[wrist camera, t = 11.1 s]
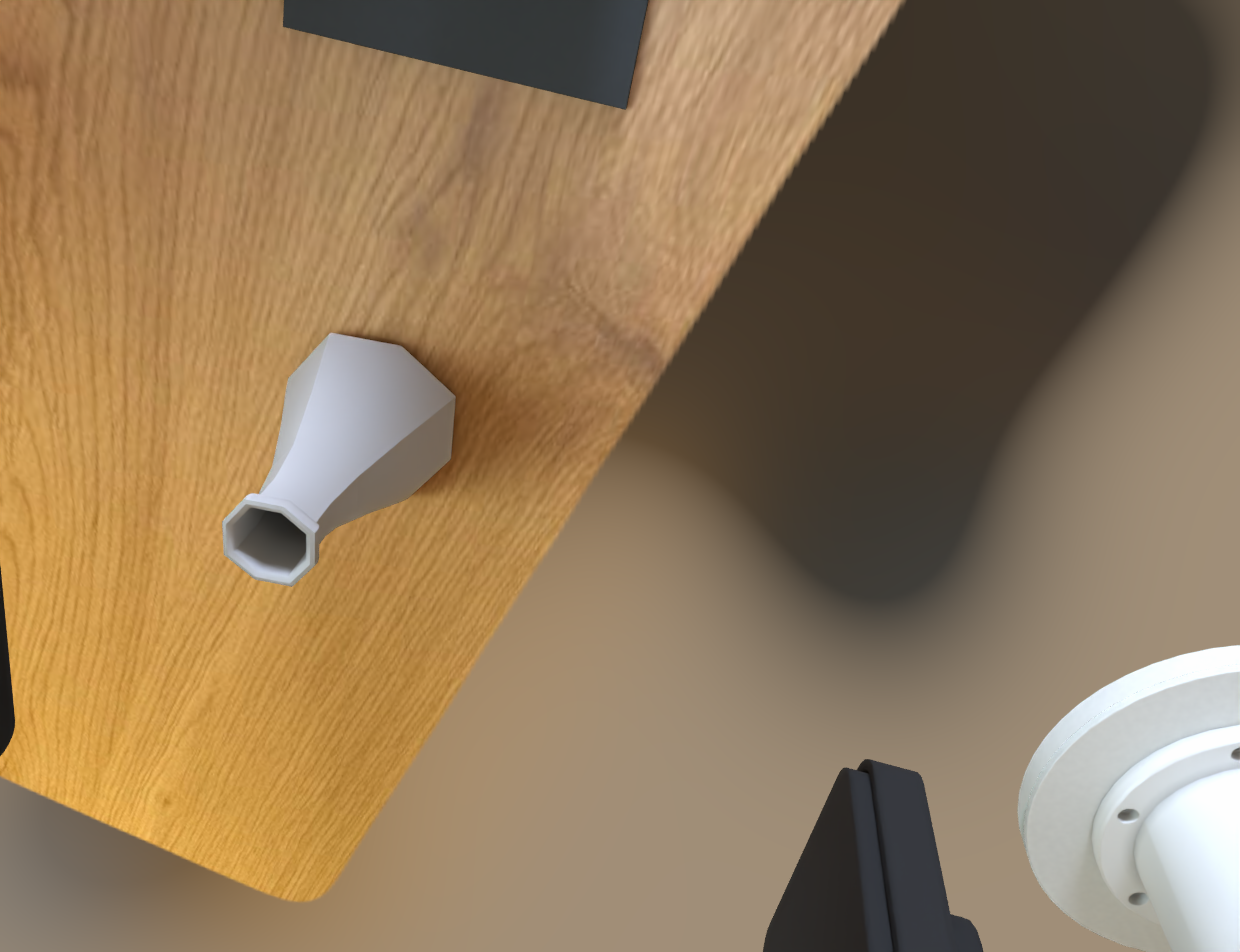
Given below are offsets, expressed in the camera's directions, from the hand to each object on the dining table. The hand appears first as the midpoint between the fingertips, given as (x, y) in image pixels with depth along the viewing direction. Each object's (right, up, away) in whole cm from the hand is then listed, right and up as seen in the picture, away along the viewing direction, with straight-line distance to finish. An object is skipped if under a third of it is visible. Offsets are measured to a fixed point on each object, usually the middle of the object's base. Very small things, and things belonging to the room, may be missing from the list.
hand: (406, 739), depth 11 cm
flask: (-8, +5, +29) cm, 31 cm away
